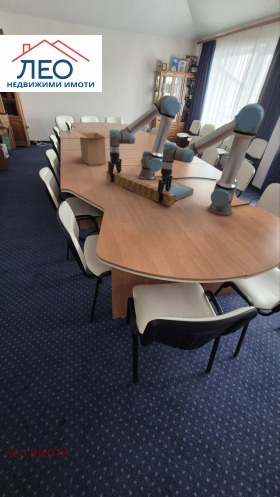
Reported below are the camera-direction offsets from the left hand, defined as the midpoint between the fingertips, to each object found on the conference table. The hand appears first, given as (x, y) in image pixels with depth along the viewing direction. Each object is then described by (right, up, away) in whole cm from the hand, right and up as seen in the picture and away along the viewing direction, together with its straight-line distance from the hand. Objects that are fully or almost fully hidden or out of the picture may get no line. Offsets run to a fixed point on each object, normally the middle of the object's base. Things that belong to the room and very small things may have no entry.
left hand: (114, 180), depth 187 cm
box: (-29, +36, +50) cm, 68 cm away
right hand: (+38, -22, -26) cm, 51 cm away
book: (+50, -14, -10) cm, 53 cm away
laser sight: (+33, +33, +52) cm, 70 cm away
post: (+19, -12, -13) cm, 26 cm away
